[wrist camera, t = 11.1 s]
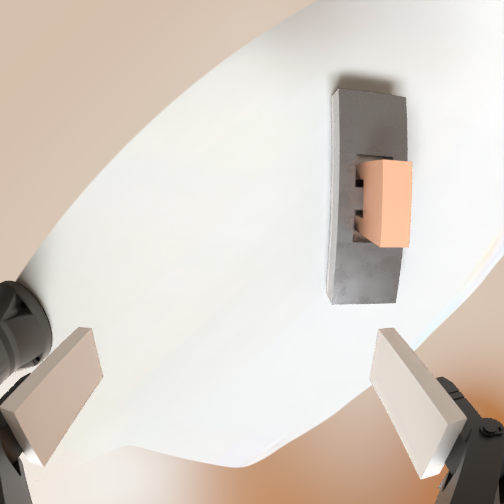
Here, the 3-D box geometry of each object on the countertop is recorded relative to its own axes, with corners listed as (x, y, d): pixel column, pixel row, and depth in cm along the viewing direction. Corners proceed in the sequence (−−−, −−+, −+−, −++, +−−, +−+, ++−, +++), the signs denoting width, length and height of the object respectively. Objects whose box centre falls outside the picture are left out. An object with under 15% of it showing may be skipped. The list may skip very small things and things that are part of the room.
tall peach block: (355, 231, 37) (380, 247, 28) (356, 162, 35) (382, 159, 26) (378, 231, 37) (408, 247, 28) (379, 164, 35) (411, 161, 26)
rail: (325, 292, 40) (331, 304, 36) (331, 96, 34) (338, 88, 30) (384, 291, 39) (395, 302, 36) (393, 104, 34) (405, 97, 30)
